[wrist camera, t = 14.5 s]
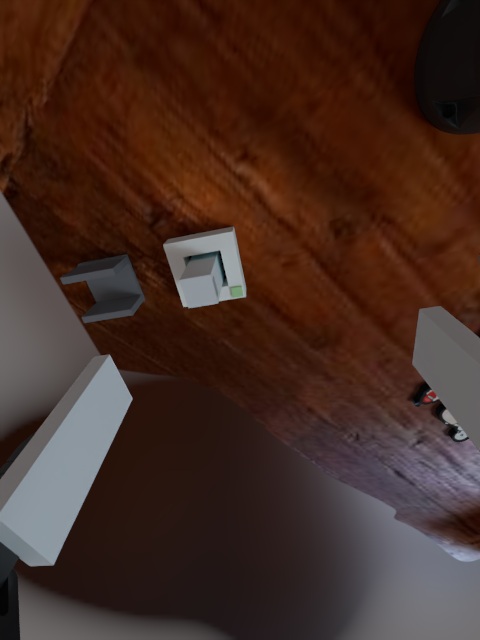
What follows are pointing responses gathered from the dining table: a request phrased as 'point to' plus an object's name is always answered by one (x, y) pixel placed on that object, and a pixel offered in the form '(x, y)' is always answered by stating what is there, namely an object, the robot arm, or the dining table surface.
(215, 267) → the plug
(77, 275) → the holster
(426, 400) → the sign
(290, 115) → the dining table surface
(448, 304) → the dining table surface
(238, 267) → the frame
